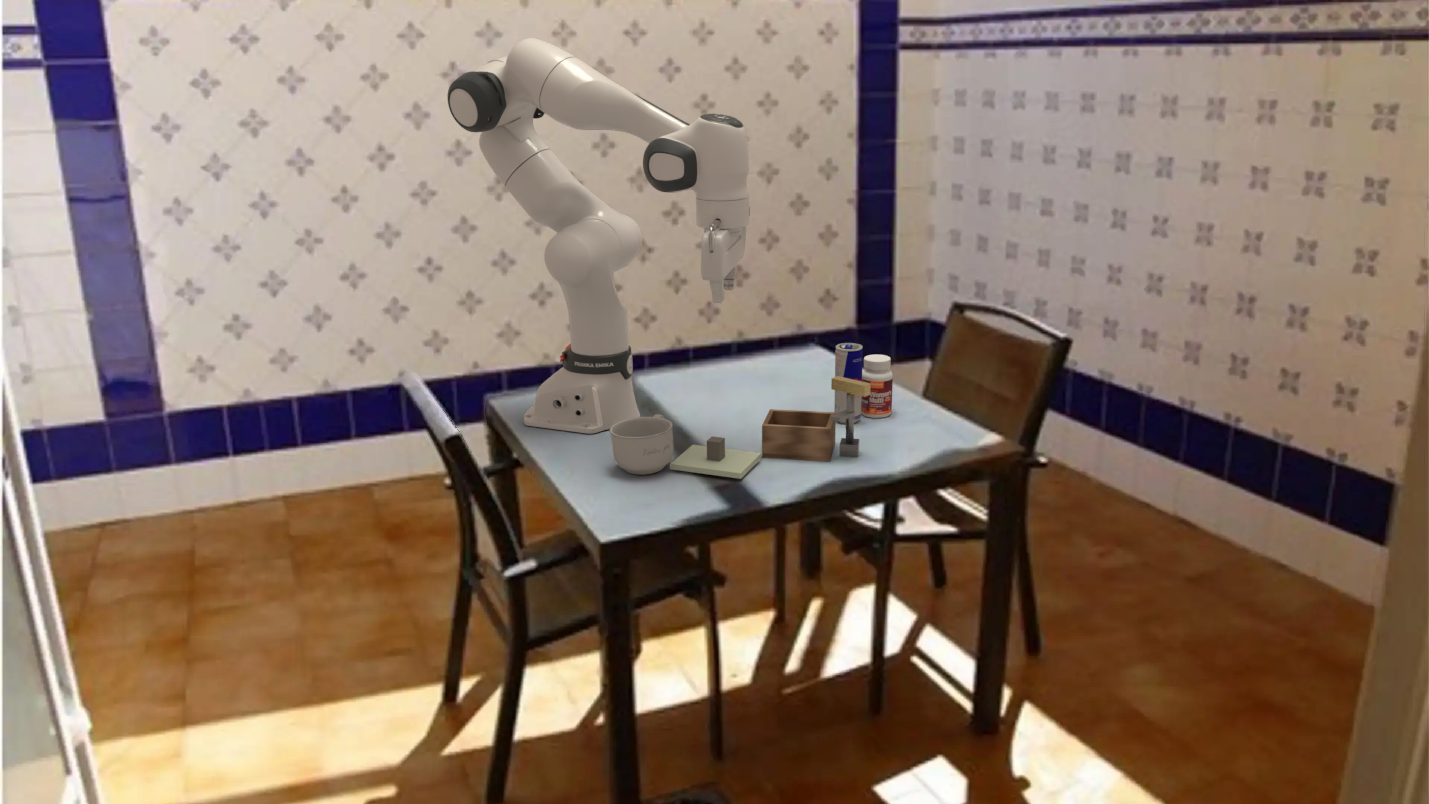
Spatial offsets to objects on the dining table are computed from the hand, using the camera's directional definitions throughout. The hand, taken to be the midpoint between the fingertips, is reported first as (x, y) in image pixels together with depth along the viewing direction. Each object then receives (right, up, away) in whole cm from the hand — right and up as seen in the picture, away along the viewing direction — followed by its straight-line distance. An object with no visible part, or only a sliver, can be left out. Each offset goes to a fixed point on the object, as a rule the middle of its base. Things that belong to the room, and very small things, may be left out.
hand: (723, 295), depth 202 cm
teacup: (-13, -29, +5) cm, 33 cm away
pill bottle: (+30, -21, +30) cm, 47 cm away
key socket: (+22, -27, +9) cm, 36 cm away
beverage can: (+24, -22, +26) cm, 42 cm away
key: (+21, -26, +7) cm, 34 cm away
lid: (-1, -29, +4) cm, 29 cm away
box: (+14, -27, +11) cm, 32 cm away
